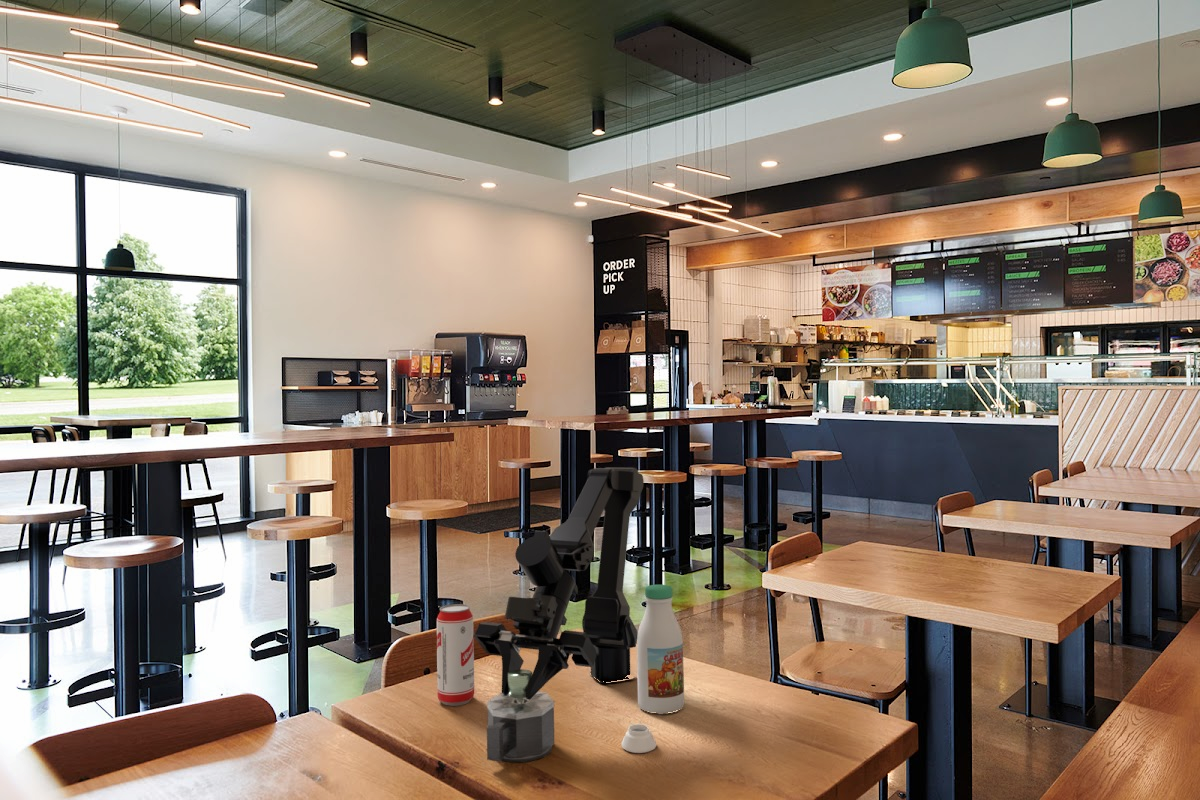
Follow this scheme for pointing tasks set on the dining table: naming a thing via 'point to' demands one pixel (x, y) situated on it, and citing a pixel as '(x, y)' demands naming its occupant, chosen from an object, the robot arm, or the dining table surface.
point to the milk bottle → (660, 654)
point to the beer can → (455, 655)
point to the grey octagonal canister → (520, 728)
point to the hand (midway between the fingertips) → (515, 696)
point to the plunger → (518, 684)
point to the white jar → (638, 739)
